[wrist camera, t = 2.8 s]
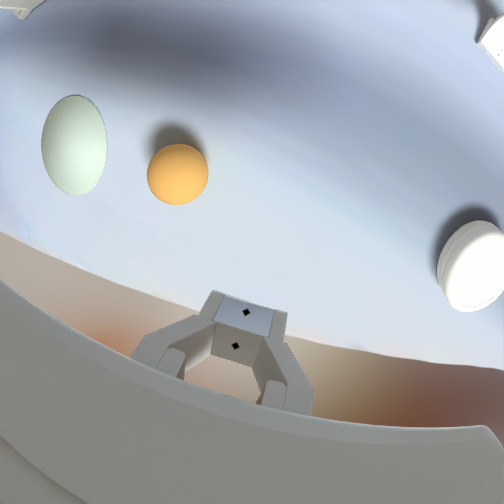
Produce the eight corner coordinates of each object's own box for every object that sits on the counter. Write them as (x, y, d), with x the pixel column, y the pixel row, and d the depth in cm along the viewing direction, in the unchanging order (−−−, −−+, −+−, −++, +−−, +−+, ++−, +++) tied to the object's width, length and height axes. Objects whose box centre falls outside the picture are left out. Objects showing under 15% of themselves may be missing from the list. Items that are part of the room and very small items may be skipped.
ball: (156, 173, 27) (125, 188, 22) (183, 129, 24) (153, 135, 19) (196, 205, 28) (172, 226, 23) (227, 163, 25) (207, 175, 20)
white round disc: (490, 291, 25) (502, 308, 22) (428, 299, 27) (437, 319, 24) (507, 217, 21) (524, 230, 18) (441, 219, 23) (455, 233, 20)
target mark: (34, 162, 29) (33, 163, 29) (61, 80, 23) (60, 80, 23) (87, 214, 31) (86, 214, 31) (124, 126, 25) (123, 126, 25)
